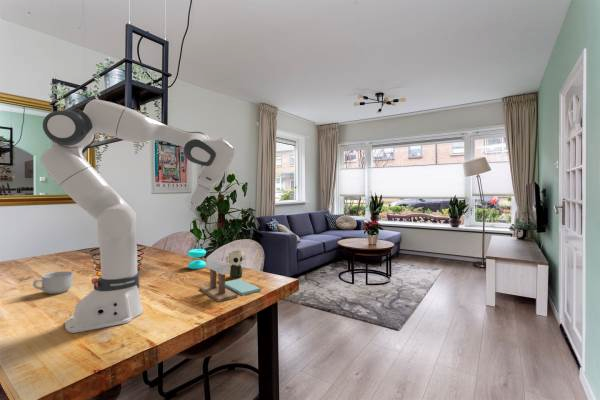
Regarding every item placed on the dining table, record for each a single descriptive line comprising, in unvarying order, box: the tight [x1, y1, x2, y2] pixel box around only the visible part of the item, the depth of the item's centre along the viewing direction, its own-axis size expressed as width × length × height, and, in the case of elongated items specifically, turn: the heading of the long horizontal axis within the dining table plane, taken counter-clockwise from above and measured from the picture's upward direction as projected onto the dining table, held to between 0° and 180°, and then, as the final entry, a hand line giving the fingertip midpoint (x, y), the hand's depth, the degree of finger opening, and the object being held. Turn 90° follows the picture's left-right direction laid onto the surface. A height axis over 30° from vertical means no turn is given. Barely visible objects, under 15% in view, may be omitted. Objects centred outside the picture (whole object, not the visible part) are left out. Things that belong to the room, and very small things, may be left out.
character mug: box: [225, 249, 246, 278], centre depth 152 cm, size 11×7×13 cm, turn 130°
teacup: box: [32, 270, 74, 295], centre depth 128 cm, size 14×11×8 cm
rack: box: [199, 269, 238, 303], centre depth 127 cm, size 8×20×10 cm, turn 40°
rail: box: [206, 256, 230, 275], centre depth 127 cm, size 3×16×4 cm, turn 40°
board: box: [225, 278, 261, 296], centre depth 134 cm, size 9×19×1 cm, turn 40°
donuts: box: [187, 248, 207, 270], centre depth 171 cm, size 10×10×10 cm
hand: (194, 206), depth 121 cm, fingers open, 8 cm apart
